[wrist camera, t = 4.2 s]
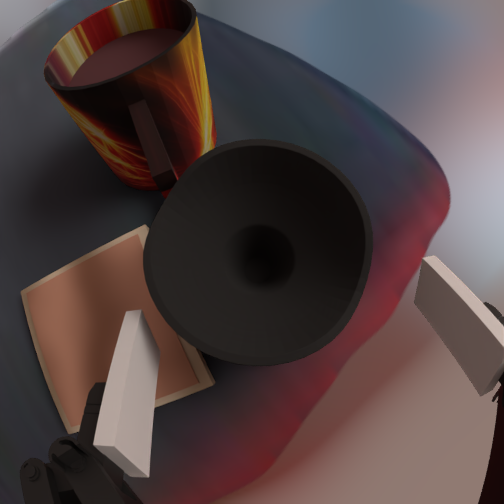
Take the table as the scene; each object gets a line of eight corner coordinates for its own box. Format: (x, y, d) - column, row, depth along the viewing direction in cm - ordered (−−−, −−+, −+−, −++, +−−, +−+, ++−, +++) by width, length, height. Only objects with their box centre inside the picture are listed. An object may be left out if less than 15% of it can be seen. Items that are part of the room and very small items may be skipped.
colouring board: (76, 430, 19) (67, 434, 17) (29, 293, 21) (19, 291, 20) (215, 382, 20) (212, 385, 19) (150, 229, 23) (144, 223, 21)
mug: (197, 247, 22) (144, 159, 11) (91, 155, 25) (24, 67, 13) (280, 157, 24) (296, 37, 13) (165, 87, 27) (134, -12, 15)
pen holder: (345, 316, 21) (413, 298, 11) (221, 373, 20) (194, 403, 10) (288, 200, 23) (309, 115, 14) (171, 250, 22) (117, 189, 13)
